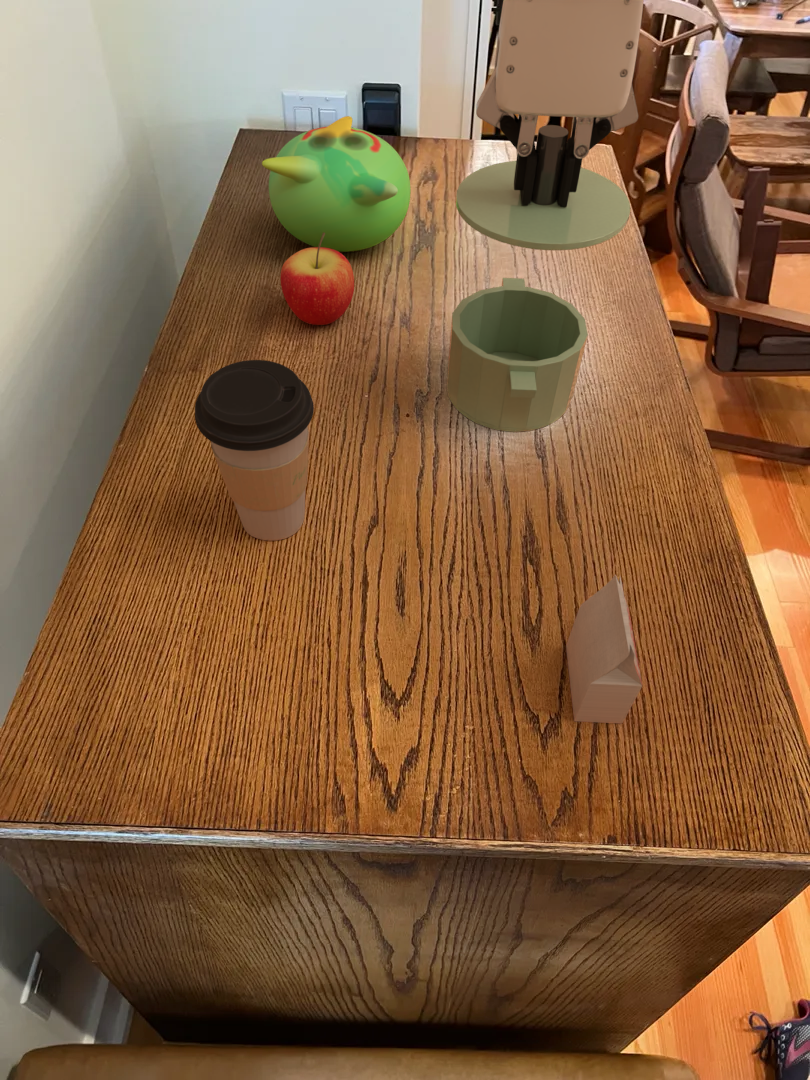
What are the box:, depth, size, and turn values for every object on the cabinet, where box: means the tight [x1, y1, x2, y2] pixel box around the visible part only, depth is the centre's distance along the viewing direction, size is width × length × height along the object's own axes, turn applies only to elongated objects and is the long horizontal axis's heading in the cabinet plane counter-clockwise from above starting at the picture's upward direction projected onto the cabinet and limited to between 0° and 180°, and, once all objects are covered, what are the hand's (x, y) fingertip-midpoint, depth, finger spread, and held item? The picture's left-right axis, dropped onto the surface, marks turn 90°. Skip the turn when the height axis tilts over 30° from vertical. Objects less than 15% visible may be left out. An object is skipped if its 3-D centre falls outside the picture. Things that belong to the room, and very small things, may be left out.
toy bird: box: [261, 115, 412, 253], centre depth 97 cm, size 18×17×15 cm
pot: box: [446, 277, 589, 433], centre depth 81 cm, size 14×19×8 cm
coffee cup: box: [194, 359, 315, 542], centre depth 66 cm, size 9×9×15 cm
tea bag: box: [565, 574, 643, 724], centre depth 57 cm, size 4×7×10 cm, turn 178°
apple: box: [280, 232, 355, 326], centre depth 88 cm, size 8×8×10 cm
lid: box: [455, 124, 631, 251], centre depth 64 cm, size 15×15×7 cm
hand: (543, 196), depth 65 cm, fingers closed on lid, 2 cm apart
